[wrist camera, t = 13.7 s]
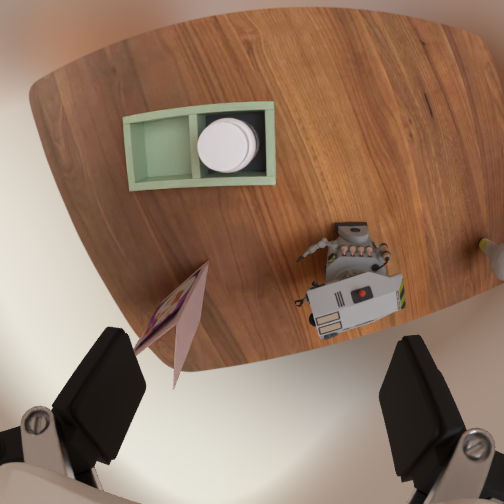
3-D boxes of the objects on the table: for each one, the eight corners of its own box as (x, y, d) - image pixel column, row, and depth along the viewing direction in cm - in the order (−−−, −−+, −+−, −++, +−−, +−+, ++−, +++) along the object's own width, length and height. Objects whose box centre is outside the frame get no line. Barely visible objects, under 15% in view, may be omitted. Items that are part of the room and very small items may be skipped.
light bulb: (488, 258, 37) (520, 287, 28) (466, 257, 38) (499, 288, 29) (496, 227, 35) (532, 252, 26) (474, 225, 36) (510, 251, 27)
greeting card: (204, 255, 42) (170, 317, 28) (240, 289, 44) (223, 361, 30) (158, 297, 46) (119, 360, 32) (192, 326, 47) (164, 394, 34)
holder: (138, 117, 34) (122, 117, 30) (274, 104, 33) (273, 100, 29) (144, 184, 38) (129, 191, 34) (276, 178, 37) (275, 185, 32)
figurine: (292, 222, 39) (297, 278, 25) (375, 220, 37) (419, 272, 24) (293, 283, 42) (297, 355, 29) (370, 280, 41) (401, 347, 27)
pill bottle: (259, 165, 35) (252, 179, 26) (214, 164, 36) (191, 177, 27) (261, 120, 33) (253, 116, 24) (214, 119, 33) (191, 117, 24)
